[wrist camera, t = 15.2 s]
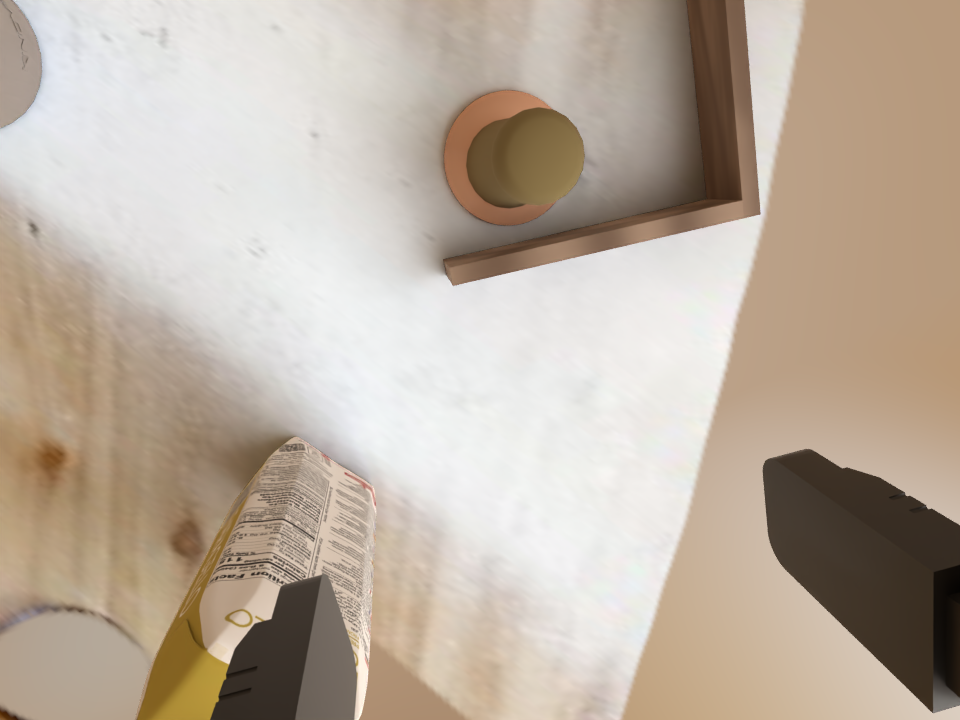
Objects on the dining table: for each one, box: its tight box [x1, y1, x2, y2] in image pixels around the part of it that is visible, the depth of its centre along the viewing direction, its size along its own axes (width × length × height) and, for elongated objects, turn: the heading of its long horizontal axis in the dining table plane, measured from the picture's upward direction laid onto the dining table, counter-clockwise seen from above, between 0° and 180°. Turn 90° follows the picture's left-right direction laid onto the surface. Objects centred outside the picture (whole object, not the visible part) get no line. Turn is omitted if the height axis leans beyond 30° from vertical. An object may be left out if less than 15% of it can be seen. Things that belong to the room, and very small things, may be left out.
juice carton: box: [135, 437, 376, 720], centre depth 37 cm, size 9×8×24 cm
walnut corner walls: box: [443, 0, 760, 286], centre depth 41 cm, size 22×18×5 cm
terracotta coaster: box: [444, 91, 556, 225], centre depth 44 cm, size 9×9×1 cm
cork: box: [466, 107, 585, 209], centre depth 38 cm, size 6×6×11 cm
